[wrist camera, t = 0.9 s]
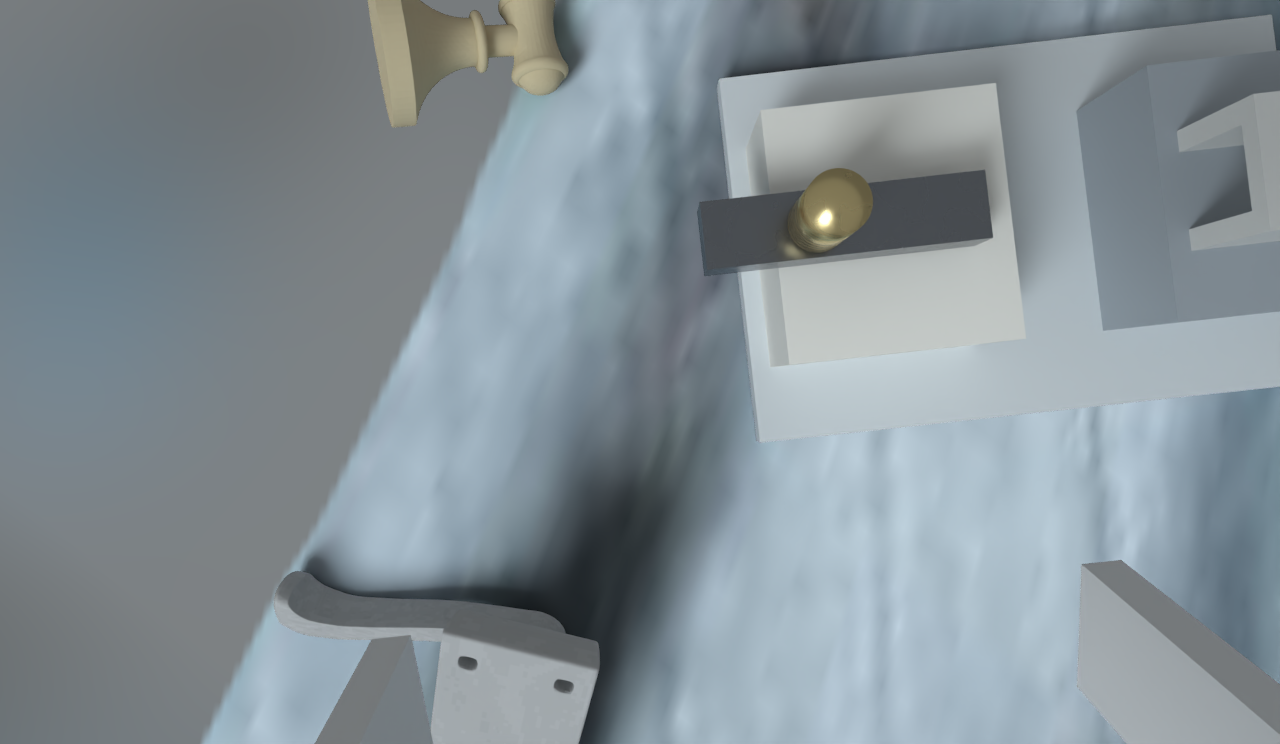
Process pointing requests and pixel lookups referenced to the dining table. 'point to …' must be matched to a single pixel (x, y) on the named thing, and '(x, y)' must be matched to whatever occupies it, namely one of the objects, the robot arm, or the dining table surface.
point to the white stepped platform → (1024, 229)
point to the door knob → (459, 49)
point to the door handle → (467, 660)
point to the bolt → (844, 221)
